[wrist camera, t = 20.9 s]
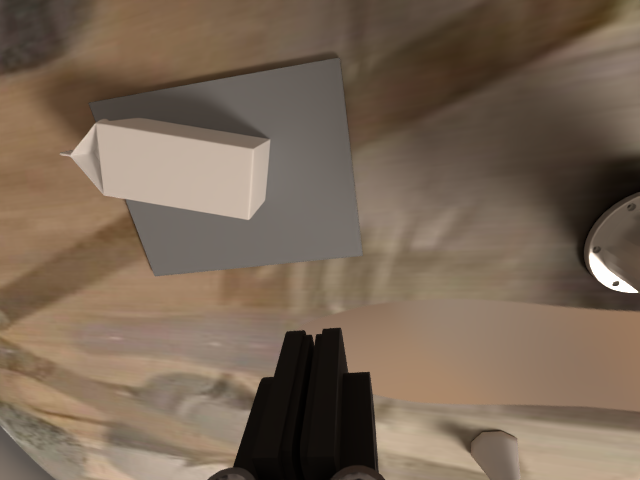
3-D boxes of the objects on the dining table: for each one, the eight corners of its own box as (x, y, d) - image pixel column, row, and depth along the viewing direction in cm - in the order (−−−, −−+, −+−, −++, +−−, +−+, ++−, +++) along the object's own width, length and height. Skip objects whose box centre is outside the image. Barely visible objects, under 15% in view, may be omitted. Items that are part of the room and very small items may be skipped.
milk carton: (250, 221, 34) (65, 189, 34) (266, 200, 41) (110, 174, 41) (255, 148, 31) (53, 115, 32) (272, 139, 38) (104, 111, 38)
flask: (463, 455, 56) (484, 526, 47) (477, 425, 53) (504, 494, 44) (507, 464, 56) (537, 536, 47) (524, 433, 53) (560, 504, 44)
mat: (339, 58, 35) (339, 57, 34) (362, 252, 43) (362, 255, 42) (93, 102, 39) (88, 102, 38) (157, 273, 47) (154, 276, 46)
